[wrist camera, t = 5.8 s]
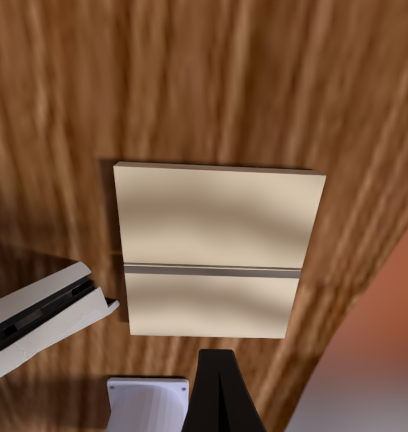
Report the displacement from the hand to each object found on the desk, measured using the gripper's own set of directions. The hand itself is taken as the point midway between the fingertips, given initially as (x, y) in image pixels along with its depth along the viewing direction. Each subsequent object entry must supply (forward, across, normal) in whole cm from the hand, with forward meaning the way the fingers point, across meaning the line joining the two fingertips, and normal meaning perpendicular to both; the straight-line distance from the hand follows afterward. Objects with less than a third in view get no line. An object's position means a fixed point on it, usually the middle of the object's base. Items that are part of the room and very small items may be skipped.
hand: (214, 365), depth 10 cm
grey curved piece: (+10, +16, +7) cm, 20 cm away
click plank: (+9, 0, -3) cm, 10 cm away
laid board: (+9, 0, +4) cm, 10 cm away
